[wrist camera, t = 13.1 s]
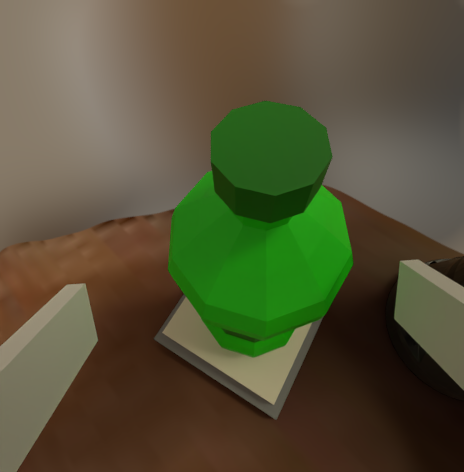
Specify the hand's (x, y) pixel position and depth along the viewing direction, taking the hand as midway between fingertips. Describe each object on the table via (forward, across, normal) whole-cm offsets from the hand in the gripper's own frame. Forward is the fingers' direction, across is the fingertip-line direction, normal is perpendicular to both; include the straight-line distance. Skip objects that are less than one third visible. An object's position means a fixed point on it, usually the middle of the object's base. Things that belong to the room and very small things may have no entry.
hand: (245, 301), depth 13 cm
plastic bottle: (+18, +1, -11) cm, 21 cm away
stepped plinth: (+20, +1, -14) cm, 25 cm away
